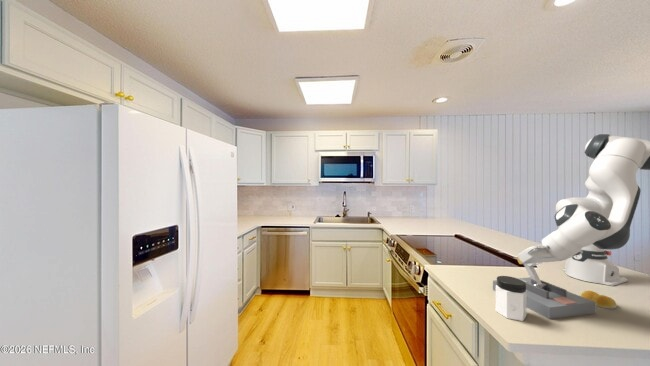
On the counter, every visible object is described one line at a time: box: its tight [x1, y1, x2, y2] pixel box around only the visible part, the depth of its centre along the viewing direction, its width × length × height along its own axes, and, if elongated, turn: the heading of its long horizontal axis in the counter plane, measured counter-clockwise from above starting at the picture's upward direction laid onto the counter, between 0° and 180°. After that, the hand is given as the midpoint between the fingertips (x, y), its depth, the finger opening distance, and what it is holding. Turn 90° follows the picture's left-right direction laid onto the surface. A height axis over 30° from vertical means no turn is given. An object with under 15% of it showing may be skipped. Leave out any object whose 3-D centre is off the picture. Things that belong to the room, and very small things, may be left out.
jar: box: [495, 275, 528, 322], centre depth 83 cm, size 9×8×12 cm
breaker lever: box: [515, 256, 548, 290], centre depth 96 cm, size 5×3×13 cm
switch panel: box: [492, 276, 597, 320], centre depth 93 cm, size 20×22×6 cm
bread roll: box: [579, 290, 617, 310], centre depth 91 cm, size 8×9×4 cm
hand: (530, 264), depth 96 cm, fingers closed, pressing on breaker lever
